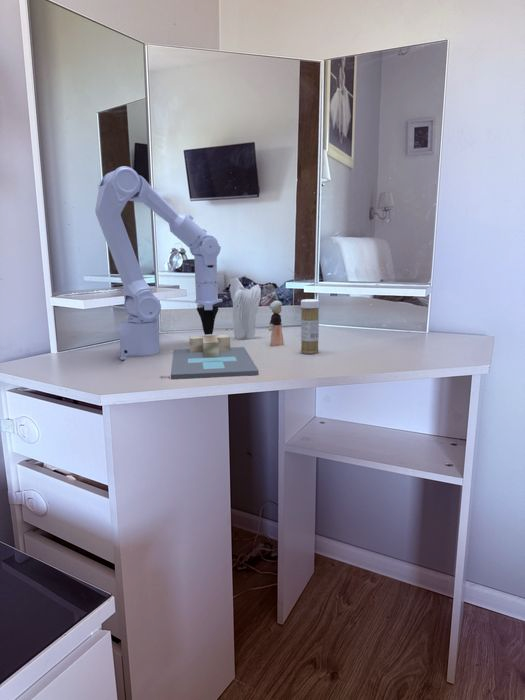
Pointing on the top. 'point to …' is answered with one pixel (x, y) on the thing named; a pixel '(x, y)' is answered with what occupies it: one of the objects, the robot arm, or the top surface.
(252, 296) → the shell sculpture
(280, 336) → the grandmother figurine
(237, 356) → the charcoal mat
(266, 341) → the top surface
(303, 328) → the sprinkles bottle
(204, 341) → the maple T block
